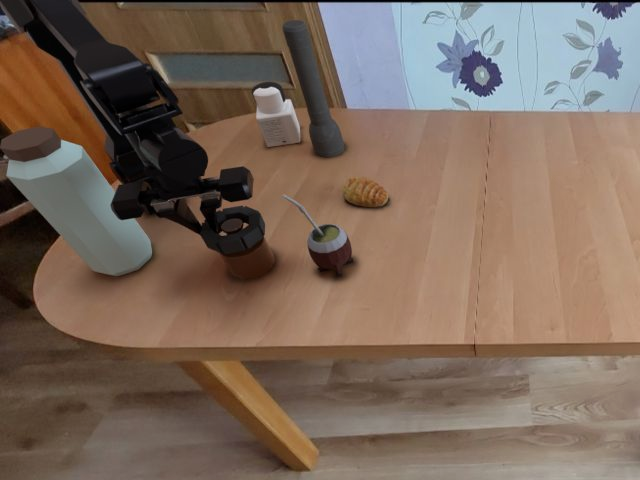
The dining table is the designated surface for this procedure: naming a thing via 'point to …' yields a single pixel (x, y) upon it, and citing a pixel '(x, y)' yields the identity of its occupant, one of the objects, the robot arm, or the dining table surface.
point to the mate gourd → (327, 244)
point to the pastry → (364, 192)
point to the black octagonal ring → (237, 240)
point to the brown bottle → (247, 255)
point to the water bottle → (74, 200)
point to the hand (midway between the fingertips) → (209, 232)
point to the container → (275, 115)
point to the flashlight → (313, 91)
